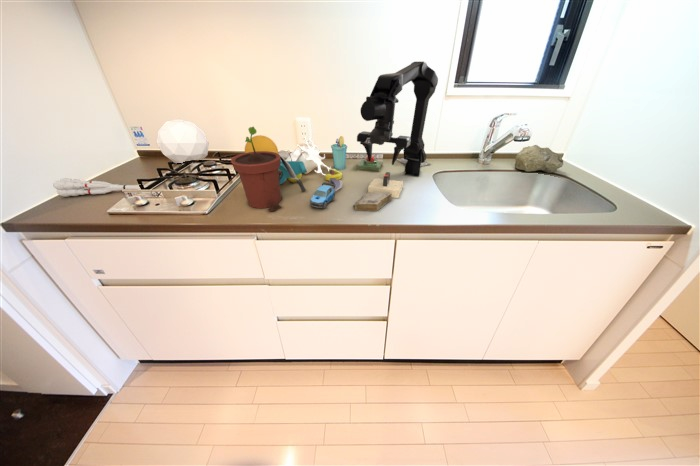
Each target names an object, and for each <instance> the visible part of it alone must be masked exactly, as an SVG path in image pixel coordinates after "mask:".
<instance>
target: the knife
mask: <svg viewBox="0 0 700 466" xmlns="http://www.w3.org/2000/svg"><path fill="white" fill-rule="evenodd" d="M342 178H343V172H341V170H340V171H339V170H338V169H335V168H334V167H333V168H332V167H331V169H329V172H328V173H326V174H325V175H324V179H325V180H326V181H328V183H331V184H336V186H335V188H333V189H334V192H335V193H336V192H337V191H338V190H340V189H342V188H343V183H344V182H343V181H342V180H341V179H342Z"/></svg>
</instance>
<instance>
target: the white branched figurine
mask: <svg viewBox="0 0 700 466" xmlns="http://www.w3.org/2000/svg"><path fill="white" fill-rule="evenodd" d="M310 138H311V137H309V138H308V139H310ZM308 139H307V138H306V136H304V141H305V144H306V146H305V147H304V145H302V146H300V144H297V147H298V148H299V150H300V151H301V150H302V152H301V155H300V156H299V157H298V159H297V160H296V161H303V163H304V165H305V168H306V170H307V172H306V173H304V174H305V175H308V174H309V173H310V172H312V171H313V170H314V172H315V173H316V174H321V175H322V176H325V175H326V173H323V170H322V167H324V168H326V169H327V172H328V173H329V169H331V168H332V166H331V165H330V166H328V165H326V164H325V163H324V162H323V160H325V159H326V154H325V153H323V156H321V155H320V153H321V150H320V149H318V145H317V144H316V142H314V141H313V140H312V139H310V141H309V142H307V141H308ZM309 143H310V144H311V145H312V146H310V144H309ZM306 147H307V148H306ZM316 148H317V149H318V150H316ZM321 166H322V167H321ZM316 168H317V170H316Z"/></svg>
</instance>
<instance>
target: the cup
mask: <svg viewBox="0 0 700 466" xmlns="http://www.w3.org/2000/svg"><path fill="white" fill-rule="evenodd" d="M344 138H345V137H344V136H342V135H339V138H336V140H335V143H334V144H333V143H332V144H331V145H330V147H331V153H332V162H333V169H336V170H338V171H339V170H340V171H341V170H344V169H345V168H346V161H347V159H346V158H347V149H348V145H347V144H345V139H344Z"/></svg>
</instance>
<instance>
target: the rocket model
mask: <svg viewBox="0 0 700 466" xmlns="http://www.w3.org/2000/svg"><path fill="white" fill-rule="evenodd" d="M139 185H140V184H118V183H110V182H107V181H101V180H100V181H99V180H92V181H89V180H88V181H87V180H84V179H81V180H80V179H77V178H68V177H65V178H61V179H60V180H55V181H54V182H53V183H52V187H53V188H54V189H56V193H57V194H58V196H60V197H65V198H69V197H77V196H80V195H81V196H85V195H89V194H90V195H92V196H93V195H103V194H105V195H106V194H107V193H111V192H120V191H121V190H123V189H139V188H140V187H139ZM143 185H144V187H148V186H147V185H145V184H143Z"/></svg>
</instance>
